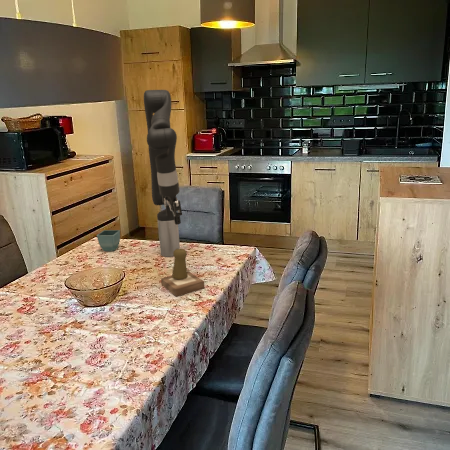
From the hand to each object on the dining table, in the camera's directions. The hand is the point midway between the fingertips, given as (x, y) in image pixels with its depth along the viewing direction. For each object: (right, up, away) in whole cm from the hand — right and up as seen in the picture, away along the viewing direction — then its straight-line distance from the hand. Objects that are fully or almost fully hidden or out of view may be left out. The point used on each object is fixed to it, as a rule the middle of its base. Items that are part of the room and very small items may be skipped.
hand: (173, 219), depth 172 cm
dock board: (+4, -26, -1) cm, 26 cm away
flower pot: (-37, -15, +47) cm, 61 cm away
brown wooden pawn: (+2, -22, 0) cm, 23 cm away
